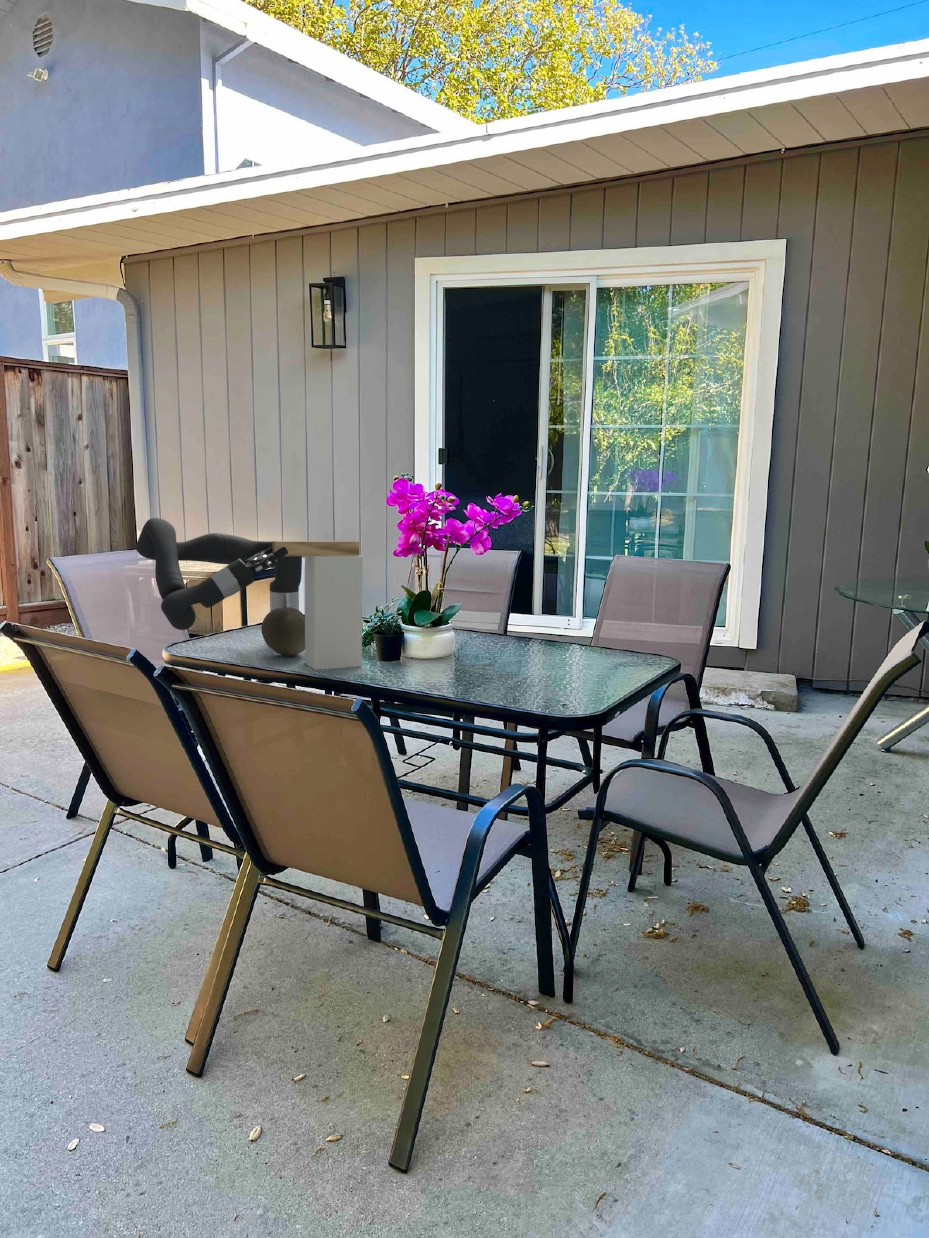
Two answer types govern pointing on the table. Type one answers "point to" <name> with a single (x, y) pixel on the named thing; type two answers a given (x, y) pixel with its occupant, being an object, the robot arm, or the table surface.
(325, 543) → the oak slat
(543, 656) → the table surface
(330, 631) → the pedestal
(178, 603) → the robot arm
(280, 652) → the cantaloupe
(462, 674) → the table surface
